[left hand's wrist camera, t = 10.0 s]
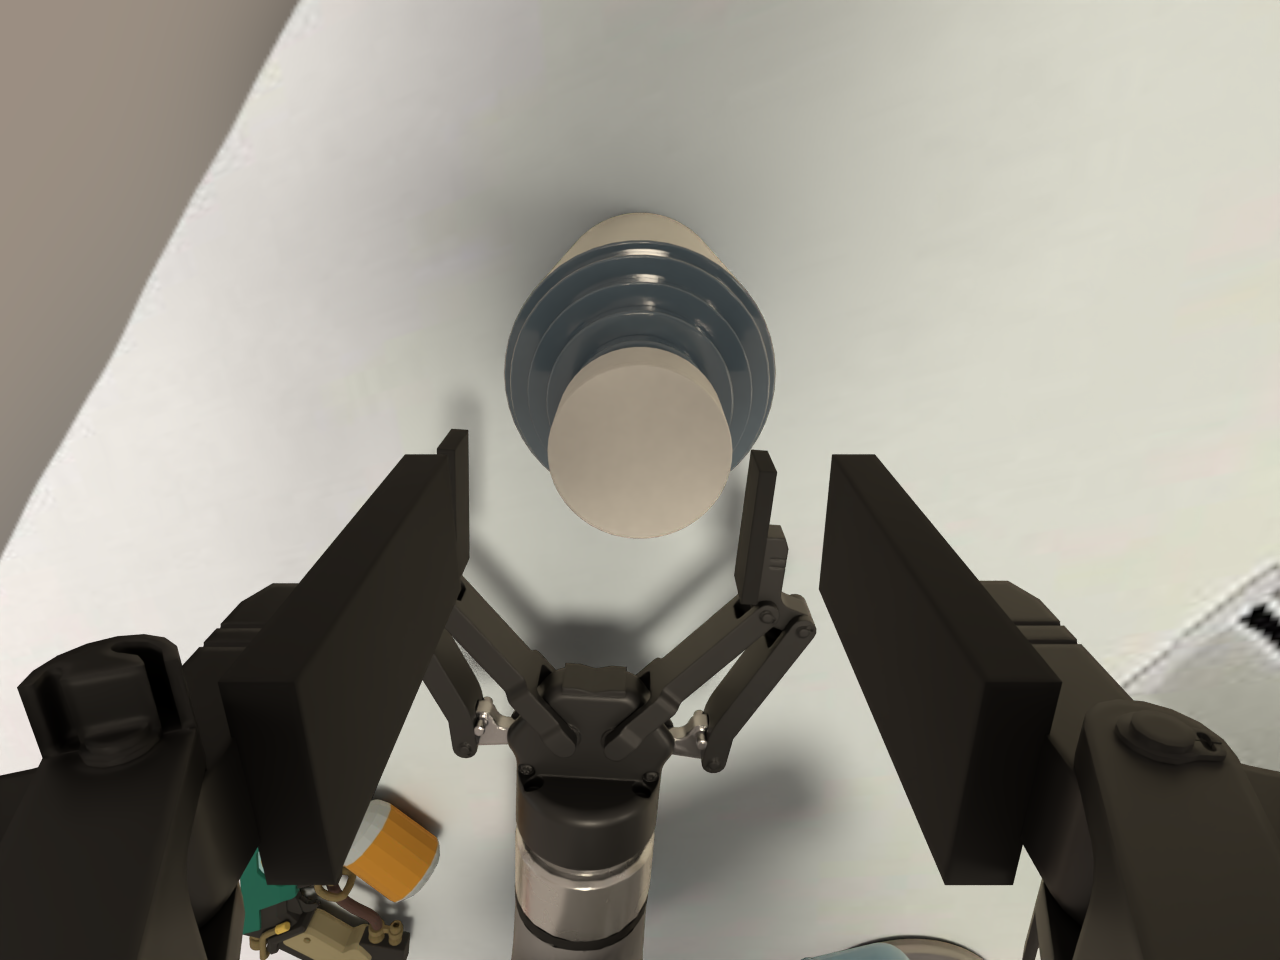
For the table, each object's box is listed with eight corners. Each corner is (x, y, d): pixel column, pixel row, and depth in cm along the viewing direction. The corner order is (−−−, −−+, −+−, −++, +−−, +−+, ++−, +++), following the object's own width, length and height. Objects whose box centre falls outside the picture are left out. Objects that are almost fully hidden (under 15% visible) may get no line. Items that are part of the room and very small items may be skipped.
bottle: (722, 206, 36) (823, 251, 16) (726, 378, 39) (817, 595, 19) (546, 218, 36) (432, 278, 16) (564, 389, 39) (487, 614, 19)
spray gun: (399, 961, 56) (196, 887, 54) (482, 812, 49) (254, 722, 47) (377, 1023, 52) (157, 946, 50) (464, 870, 45) (215, 774, 43)
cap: (721, 340, 18) (729, 358, 17) (726, 500, 20) (735, 533, 18) (546, 351, 19) (537, 371, 17) (565, 510, 20) (557, 544, 18)
